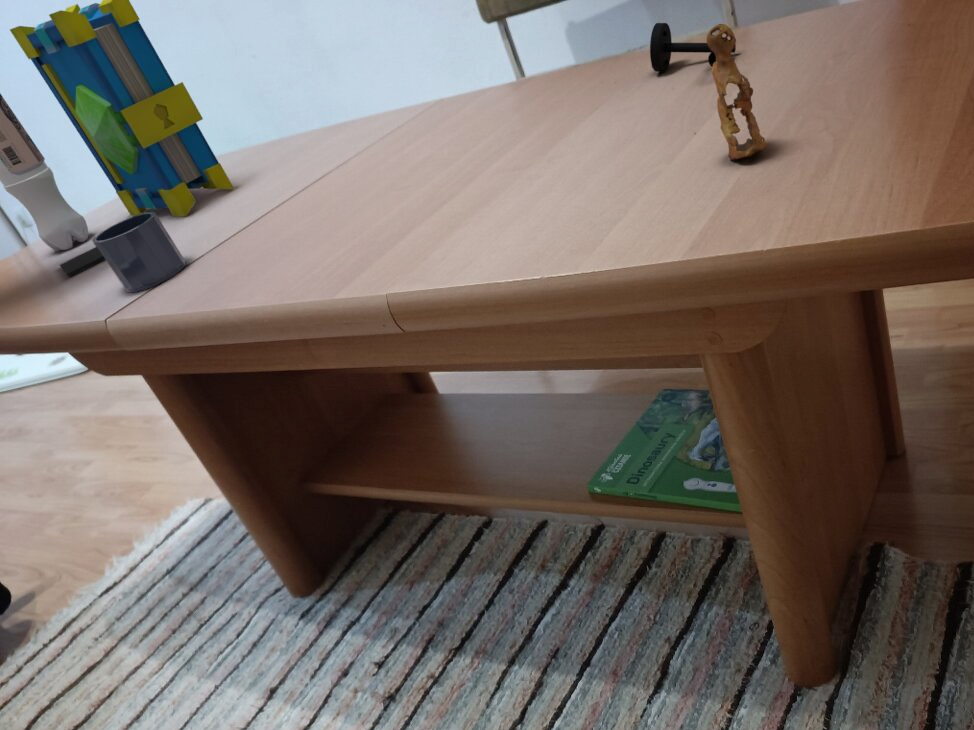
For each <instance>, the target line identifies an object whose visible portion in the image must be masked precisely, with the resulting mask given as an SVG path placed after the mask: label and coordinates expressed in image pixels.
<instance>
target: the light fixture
mask: <svg viewBox="0 0 974 730" xmlns="http://www.w3.org/2000/svg"><path fill="white" fill-rule="evenodd" d="M649 42H650V44H649V56H650V57H649V59H650V63H651V67H652V70H653V71H654V72H657V73H662V72H663V73H664V72H666V71H667V70H668V68H669V66H670V62H671V59H672V58H671V57H672V53H709V55H708V57H707V61H708V64H709V66H710V68H712V66H713V64H714V63H715V62H716V56H715V53H714V52H713V51H711V49H710V48H709V47H708V45H707V42H673V41H672V32H671V27H670V25H669V24H668V23H667V22H656V23H655V24H654V25H653V27H652V30H651V35H650V40H649ZM736 48H737V43H735V47H734V48H733V49H732V51H731V54H735V53H736V50H737V49H736ZM706 75H707V76H709V74H708V71H706Z"/></svg>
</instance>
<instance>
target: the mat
mask: <svg viewBox="0 0 974 730" xmlns="http://www.w3.org/2000/svg"><path fill="white" fill-rule="evenodd" d="M104 261H105V259H104V258H103V256H102V255H101V253H100V252H99V250H98V249H97V248H96V246H95V247H92V248H91V249H89V250H86V251H85V252H83V253H81V254H78V255H77V256H74V257H72V258H71V259H68V260H66V261H65V262H62V263H60V264H59V267H60V268H61V269H62V270H63V271H64V273H65V274H66V275H67V276H68V277H69V278H71V277H74V276H76V275H78V274H79V273H82V272H83V271H86V270H88V269H90V268H91V267H94V266H96V265H98V264H99V263H101V262H104Z"/></svg>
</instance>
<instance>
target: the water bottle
mask: <svg viewBox="0 0 974 730" xmlns="http://www.w3.org/2000/svg"><path fill="white" fill-rule="evenodd" d="M0 183H1V184H2V186H3V188H4V190H5V191H6V192H7V193H8V194H9V195H11V196H12V197H14V198H15V199H16V200H17V201H18V202H19V203H20V204H22V205H23V207H24V208H25V209H26V210H27V211H28V213H29V214H30V216H31V218H32V219H33V221H34V222H33V223H35V226H36V229H37V233H38V237H39V239H41V241H42V242H43V243H44V244H45V245H46V246H47V247H49V248H50V249H52V250H53V251H55V252H58V251H59V252H60V251H67V250H69V249H72V248H73V247H74V246H73V245H74V244H73V241H74V240H76V241H78V242H79V243H83V242H86V240H88V238H89V227H88V224H87V220H86V219H85V218H84V216H83V215H81V214H80V213H79V212H78V211H76V210H75V209H74V208H73V207H72V206H71V205H70V204H69V203H68V201H66V199H65V198H64V196H63V195H62V193H61V192H60V190H59V187H58V185H57V183H56V179H55V176H54V172H53V170H52V169H51V167H50V166H48V165H47V163H46V162H45V161H44V162H43V165H42V166H40V167H38V168H36V169H34V170H32V171H30V172H27V173H25V174H22V175H15V174H11V173H10V172H9V171H8V169H7V168H6V166H5V165H4V164H3V162H2V161H1V159H0Z"/></svg>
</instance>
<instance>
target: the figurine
mask: <svg viewBox="0 0 974 730" xmlns="http://www.w3.org/2000/svg"><path fill="white" fill-rule="evenodd" d="M717 31H719V32H718V33H716V34H713V33H715V32H717ZM723 35H725V36H723ZM728 38H729V39H728ZM706 43H707V45H708V47H709V48H710V49H711V51H713V52H714V53H715V56H716V62H715V63H714V64H713V66H712V67H711V75H712V78H713V80H714V83H715V87H716V92H717V94H718V97H717V100H716V107H717V113H718V117H719V120H720V130H721V132H722V134H723V136H724V139H725V140H726V143H727V145H728V155H727V156H728V158H729V159H730V160H732V161H733V160H739V159H743V158H749V157H750V158H751V157H752V156H754V155H755V154H756V153H760V152H763V150H766V147H767V145H768V144H767V142H766V139H765V137H764V136H762V135H761V133H760V132H761V130H760V128H759V124H758V122H757V119H756V116H755V114H754V113H753V112H752V110H753V102H752V96H754V95H753V94H754V89H753V87H751V83H750V80H749V78H748V77H746V76H745V75H743V74H742V73H741V71H740V70H739V68H738V66H737V64H736V61H735V59H734V58H733V55H732V53H731V51H732V49H733V48H734V47H735V44H737V39H736V35H735V33H734V32H733V29H731V28H730V27H729V26H728V25H727V24H725V23H718V24H716V25H714V26H713V27H712V28H711V29H710V30H709V31H708V32H707V35H706ZM728 84H733V85H736V86H737V88H738V93H736V94H737V95H736V98H733V103H732V104H731V103H730V104H728V103H727V102H726V98H725V97H726V96H727V95H728V94H727V86H728ZM733 109H735V110H738V109H740V110H739V113H740V115H742V117H745V122H746V125H747V130H748V134H749V136H750V138H747V139H746V141H745V142H744V143H739V140H738V139H737V137H736V136H735V135H734V134H738V133H740V132H741V129H740V127H739V125H738V123H736V121H737V120H736V118H735V114H734V113H733Z"/></svg>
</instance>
